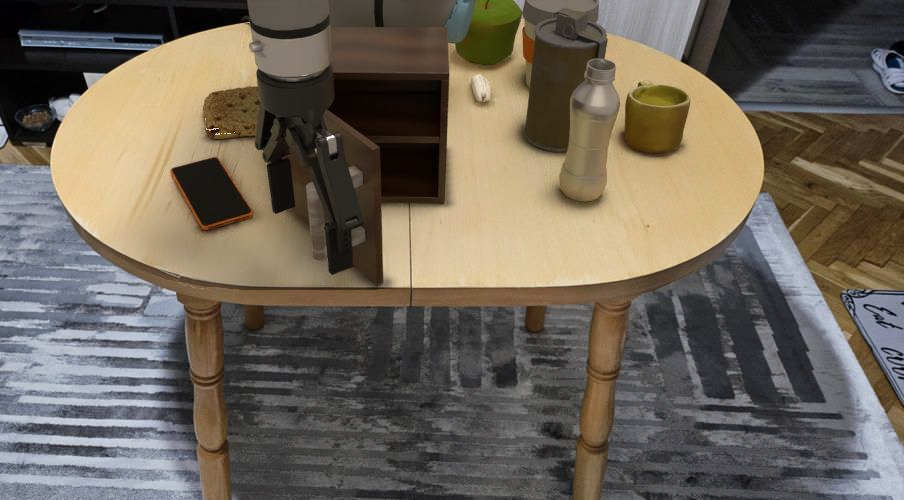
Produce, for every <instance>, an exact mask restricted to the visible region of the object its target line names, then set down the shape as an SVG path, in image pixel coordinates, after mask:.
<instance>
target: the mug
mask: <svg viewBox="0 0 904 500" xmlns="http://www.w3.org/2000/svg"><path fill="white" fill-rule="evenodd" d="M690 107H691V96H690V95H689V93H688V92H687V91H685V90H684V89H682V88H680V87H678V86H674V85H668V84H654V83H653V82H652V81H651V80H649V79H648V80H640V81H638V82H637V87H634V88H632V89H630V90H629V91H628V93H627V95H626V99H625V105H624V138H625V141H626V143H627V144H628V146H629V147H631V148H632V149H634V150H636V151H639V152H646V153H650V154H660V153H661V154H663V153H664V154H665V153H667V152H671V151H674V150H676V149H678V148H679V147H680V145H681V144H682V141H683V137H684V131H685V127H686V123H687V119H688V115H689V112H690Z"/></svg>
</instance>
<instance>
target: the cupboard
mask: <svg viewBox="0 0 904 500" xmlns="http://www.w3.org/2000/svg"><path fill="white" fill-rule="evenodd" d="M330 28H331V44H332V62H331V65H332V67H333V78H334V93H335V96H334V100H333V102H332V104H331V105H330V106H329V107H328V108H327V110H328V111H330V112H331V113H333V114H334V115H335V116H337V117H338V118H340V119H341V120H342V121H344V122H345V123H347V124H348V125H349V126H351V127H352V128H354V129H355V130H356V131H358V132H359V133H361V134H362V135H363V136H365V137H366V138H368V139H369V140H370V141H372V142H373V143H375V144H376V145H377V146H379V147H380V173H381V203H386V204H387V203H390V204H392V203H393V204H395V203H396V204H445V203H446V184H447V183H446V180H447V154H448V151H447V150H448V126H449V125H448V124H449V123H448V122H449V98H450V97H449V96H450V54H449V43H448V28H426V27H330Z"/></svg>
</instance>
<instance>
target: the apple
mask: <svg viewBox="0 0 904 500" xmlns="http://www.w3.org/2000/svg"><path fill="white" fill-rule="evenodd" d="M522 12H523V9H521V7H520V6H519V5H518V4H517V2H516V1H515V0H476V3H475V7H474V11H473V15H472V19H471V22H470V26H469V29H468V32H467V34H466V36H465V38H464V39H463V40H462V41H461V42H459V43H456V44H454V48H455V51H456V53H457V54H458V55H459V56H460V57H462V58H463V59H464V60H466V61H467V62H468V63H470V64H473V65H476V66H485V67H486V66H494V65H497V64H500V63H501V62H503V61H505V60H507V59H508V58H509V57H510V56H512V53H513V52H514V46H515V41H516V37H517V36H516V35H517V33H518V30H519V28H520V25H521V21H522V17H523V14H522Z"/></svg>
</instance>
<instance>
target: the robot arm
mask: <svg viewBox="0 0 904 500" xmlns="http://www.w3.org/2000/svg"><path fill="white" fill-rule="evenodd" d="M246 2H247V8H248V15H244V16H242V18H241V19H240V22H243V23H245V22H246V21H248V22H249V26H250V33H251V40H252V41H251V42H249V44H248V47H249V51H250V53H253V55H254V63H255V65H256V68H257V69H256V71H255V72H256V74H255V75H256V81H257V82H256V84H257V86H258V91H259V99H260V107H259V114H258V121H257V128H256V135H255V136H254V148H255V149H256V150H257V151H262V153H261V156H262V160H263V161H264V162H265V163H266V165H265V166H266V167H265V168H266V174H267V182H268V188H269V196H270V203H271V210H272V212H273V214H274V215H278V214H280V213H283V212H286V211H288V210H292V209H291V208H294V207H295V199H294V190H293V181H292V172H291V163H290V160H289V159H288V158H286V159H283V160H282V157H284V156H287V155H290V154H291V153H289V152H290V150H289V149H290V147H291V148H293V149H294V150H295V151H296V153H297V156H298V158H299V161H300V163H301V166H302V167H303V168H306V169H308V171H309V174H310V176H311V179H312V181H313V184H314V186H315V189H316V192H317V194H318V197H319V199H320V202H321V204H322V207H323V209H324V212H325V214H326V217H327V219H328V223H325V227H323V228H324V230H325V235H326V247H327V259H326V260H327V270H328V271H327V272H328V273H329V274H330V275H331V276H333V275H336V274H339V273H341V272H344V271H346V270H348V269H351V268H353V267H354V265H353V252H352V234H351V230H352V229H355V228H358V227H360V226H363V225H364V221H363V217H362V214H361V210H360V207H359V203H358V200H357V196H356V193H355V189H354V185H353V182H352V178H351V175H350V171H349V168H348V164H347V161H346V157H345V151H344V143H343V137H342V134H341V133H340V132H339V131H338V132H335V133H332V134H330V133H329V132H327V127H326V124H325V122H324V117H323V114H324V113H325V111H326V110H327V108H328V107H329V106H330V105H331V104H332V102H333V100H334V96H335V93H334V78H333V67H332V65H331V62H332V44H331V28H330V27H426V28H448V44H449V45H451V44H452V45H455V44H456V43H459V42H461V41H462V40H463V39H464V38H465V36H466V34H467V32H468V29H469V26H470V22H471V19H472V15H473V11H474V7H475V3H476V0H246ZM314 153H316V154H317V155H318V156H315V157H312V158H309V157H308V155H311V154H314Z"/></svg>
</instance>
